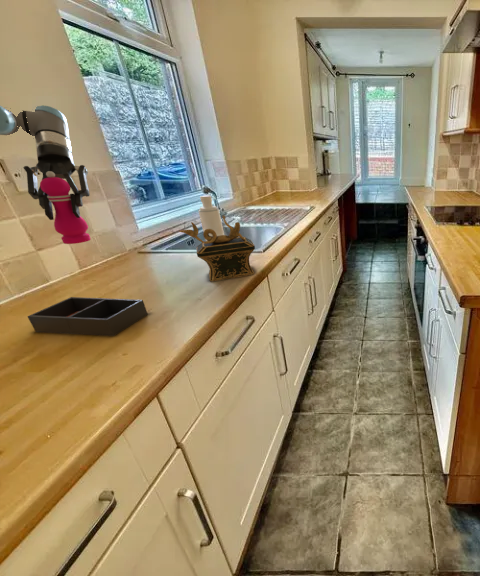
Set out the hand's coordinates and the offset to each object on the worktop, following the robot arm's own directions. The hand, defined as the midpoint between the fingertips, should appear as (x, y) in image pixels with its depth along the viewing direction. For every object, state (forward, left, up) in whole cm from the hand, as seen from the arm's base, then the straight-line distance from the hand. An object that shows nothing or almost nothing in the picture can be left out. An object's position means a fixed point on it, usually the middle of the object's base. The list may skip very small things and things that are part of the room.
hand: (63, 215), depth 90 cm
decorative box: (+37, +12, -22) cm, 45 cm away
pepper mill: (-2, +3, -8) cm, 9 cm away
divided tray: (+22, -21, -22) cm, 37 cm away
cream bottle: (+24, +30, -22) cm, 44 cm away
